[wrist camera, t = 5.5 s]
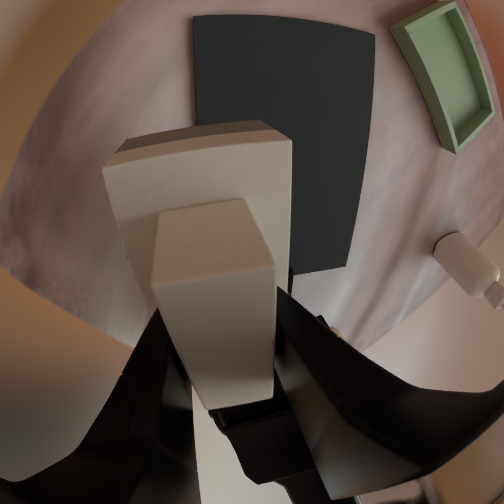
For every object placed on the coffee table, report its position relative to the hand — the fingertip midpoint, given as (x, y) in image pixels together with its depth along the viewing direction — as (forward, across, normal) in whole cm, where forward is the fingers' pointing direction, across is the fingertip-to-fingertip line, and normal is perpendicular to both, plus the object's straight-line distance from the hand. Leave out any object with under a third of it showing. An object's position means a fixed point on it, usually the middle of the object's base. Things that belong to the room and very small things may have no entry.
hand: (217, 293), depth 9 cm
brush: (+4, 0, 0) cm, 4 cm away
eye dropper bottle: (+11, -27, +10) cm, 31 cm away
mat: (+11, -6, 0) cm, 12 cm away
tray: (+11, -21, -9) cm, 25 cm away
